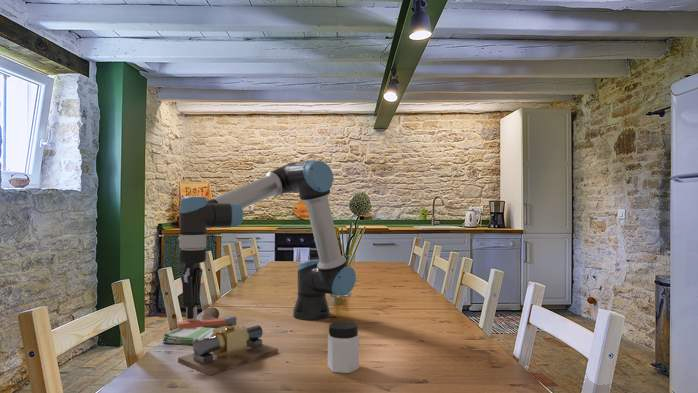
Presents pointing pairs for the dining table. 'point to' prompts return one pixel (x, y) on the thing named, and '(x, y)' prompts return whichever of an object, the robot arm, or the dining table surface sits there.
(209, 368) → the mount board
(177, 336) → the dish towel
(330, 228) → the robot arm
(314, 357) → the dining table surface
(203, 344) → the valve body
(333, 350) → the jar
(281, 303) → the dining table surface
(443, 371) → the dining table surface
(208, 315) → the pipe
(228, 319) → the lever
